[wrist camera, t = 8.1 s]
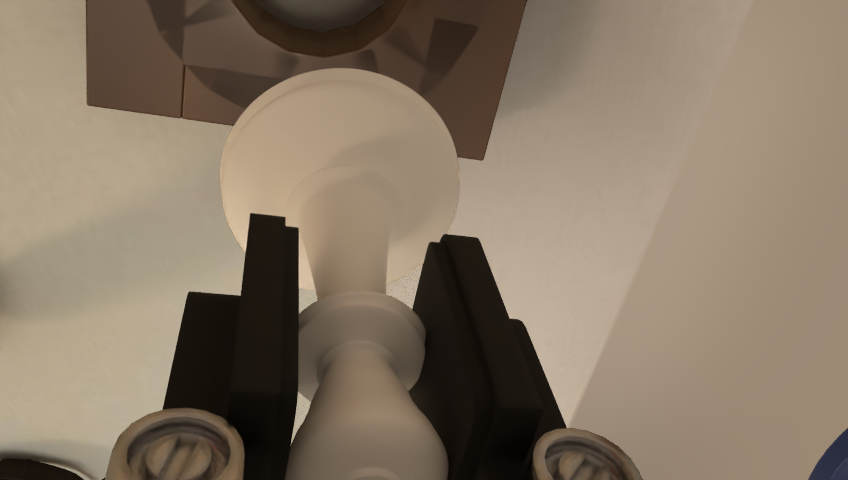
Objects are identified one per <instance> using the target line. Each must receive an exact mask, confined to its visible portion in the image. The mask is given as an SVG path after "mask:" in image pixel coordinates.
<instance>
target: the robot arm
mask: <svg viewBox="0 0 848 480" xmlns="http://www.w3.org/2000/svg"><path fill="white" fill-rule="evenodd" d="M412 310H413V311H414V312H415V313H416V314H417V316H418V317H419V318H420V320H421V322H422V323H423V325H424V328H425V330H426V339H425V344H424V345H425V351H426V352H425V357H424V362H423V366H422V370H421V373H420V376H419V379H418V380H417V382H416V383H415V384H414V386H413V387H412V388H411V389H410V390H409V391H408V392H409V394H410V396H411V399H412V400H413V402H414V403H415V405H416V406H417V407H418V409H419V410H420V411H421V412H422V413H423V414H424V415H425V416H426V417H427V419H428V420H429V421H430V423H431V424H432V426H433V427H434V429H435V430H436V432H437V434H438V435H439V437H440V439H441V441H442V443H443V445H444V447H445V450H446V453H447V456H448V462H449V473H448V478H447V480H643V479H642V477H641V475H640V472H639V471H638V469H637V468H636V466H635V464H634V463H633V461H632V460H631V458H630V457H629V456H627V455H626V453H624V452H623V451H622V450H621V449H620V448H619V447H618V446H617V445H615V444H613V443H612V442H610V441H609V440H607V439H606V438H604V437H602V436H599V435H597V434H594V433H592V432H589V431H586V430H580V429H575V428H567V427H566V425H565V423H564V420H563V418H562V415H561V413H560V410H559V408H558V405H557V403H556V400H555V398H554V395H553V393H552V391H551V388H550V386H549V383H548V381H547V378H546V376H545V373H544V371H543V368H542V366H541V364H540V361H539V359H538V356H537V354H536V351H535V349H534V346H533V344H532V341H531V339H530V336H529V334H528V332H527V329H526V327H525V325H524V324H523V322H522V321H520V320H518V319H509V316H508V313H507V311H506V308H505V306H504V303H503V300H502V298H501V295H500V293H499V290H498V287H497V285H496V282H495V279H494V277H493V274H492V272H491V269H490V266H489V264H488V261H487V259H486V256H485V253H484V251H483V248H482V246H481V243H480V241H479V239H478V238H476V237H466V236H457V235H448V234H444V235H443V236H442V237H441V239H440V242H430V243H429V245H428V247H427V251H426V255H425V259H424V263H423V267H422V272H421V276H420V280H419V284H418V288H417V292H416V296H415V301H414V305H413V309H412ZM298 354H299V228H298V227H290V226H286V217H283V216H273V215H264V214H255V213H250V219H249V228H248V237H247V246H246V254H245V263H244V272H243V281H242V290H241V296H236V295H225V294H213V293H201V292H189V293H188V295H187V299H186V304H185V308H184V313H183V318H182V322H181V327H180V332H179V336H178V341H177V345H176V350H175V355H174V359H173V364H172V369H171V373H170V378H169V383H168V387H167V392H166V396H165V401H164V406H163V410H161V411H158V412H154V413H151V414H148V415H146V416H144V417H142V418H141V419H139V420H137V421H135V422H133V423H132V424H131V425H130V426H129V427H128V428H127V429H126V430H125V431H124V432H123V433H122V434H121V435H120V436H119V437H118V439H117V442H116V444H115V446H114V448H113V450H112V453H111V457H110V461H109V465H108V469H107V473H106V477H105V478H104V479H102V480H285V476H286V470H287V464H288V458H289V451H290V445H291V439H292V433H293V427H294V420H295V414H296V406H297V395H298Z"/></svg>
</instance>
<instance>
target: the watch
mask: <svg viewBox="0 0 848 480" xmlns="http://www.w3.org/2000/svg"><path fill="white" fill-rule="evenodd" d="M0 480H84V479H82V478H81V477H80V476H78V475H77V474H75V473H73V472H70V471H68V470H66V469H62V468H59V467H56V466H53V465H49V464H45V463H41V462H35V461H32V460H30V459H28V460H19V459H4V460H1V461H0Z"/></svg>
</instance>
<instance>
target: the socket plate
mask: <svg viewBox="0 0 848 480" xmlns="http://www.w3.org/2000/svg"><path fill="white" fill-rule="evenodd" d="M526 2H527V0H385V1H384V3H383V4H382V6H381V7H379V8H378V9H377V10H375V11H374V12H372V13H371V14H369V15H368V16H367V17H365V18H364V19H362V20H361V21H360V22H358V23H357V24H355V25H353V26H348V27H344V28H339V29H335V30H330V31H326V32H320V31H314V30H308V29H302V28H296V27H291V26H289V25H287V24H286V23H284V22H282V21H281V20H279V19H277V18H276V17H274V16H272V15H271V14H269V13H267V12H266V11H264V10H262V9H261V7H260V6H259V5H258V4H257V2H256V1H255V0H86V62H87V105H89V106H95V107H102V108H110V109H117V110H124V111H131V112H138V113H145V114H152V115H160V116H167V117H174V118H181V117H182V118H183V119H189V120H196V121H203V122H210V123H217V124H224V125H232V126H234V125H235V123H236V122H237V120H238V119H239V117H240V116H241V115H242V113H243V112H244V111H245V110H246V109H247V108H248V106H249V105H250V104H251V103H252V102H253V101H255V100H256V99H257V98H258V97H259V96H260V95H262V94H263V93H264V92H266V91H267V90H269V89H270V88H272V87H273V86H275V85H277V84H279V83H281V82H282V81H285V80H287V79H289V78H291V77H294V76H297V75H300V74H303V73H307V72H311V71H315V70H321V69H330V68H351V69H360V70H366V71H370V72H374V73H378V74H381V75H384V76H387V77H389V78H392V79H394V80H396V81H398V82H400V83H402V84H404V85H406V86H407V87H409V88H410V89H412V90H413V91H415V92H416V93H417V94H419V95H420V96H421V97H422V98H424V99H425V100H426V101H427V102H428V103H429V104H430V105H431V106H432V107H433V108H434V110H435V111H436V112H437V113H438V115H439V116H440V117H441V119H442V120H443V122H444V124H445V125H446V127H447V129H448V131H449V133H450V135H451V137H452V140H453V143H454V146H455V149H456V154H457V157H460V158H467V159H475V160H483V159H484V156H485V152H486V149H487V145H488V141H489V138H490V134H491V130H492V127H493V123H494V119H495V116H496V112H497V108H498V105H499V101H500V97H501V94H502V90H503V86H504V83H505V79H506V75H507V72H508V68H509V64H510V61H511V57H512V53H513V50H514V46H515V42H516V39H517V35H518V31H519V28H520V24H521V20H522V17H523V13H524V9H525V6H526Z"/></svg>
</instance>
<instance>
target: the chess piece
mask: <svg viewBox="0 0 848 480" xmlns="http://www.w3.org/2000/svg"><path fill="white" fill-rule="evenodd" d="M220 184H221V192H222V202H223V207H224V212H225V215H226V218H227V221H228V224H229V226H230V229H231V231H232V233H233V235H234V236H235V238H236V240H237V241H238V243H239V244H240V246H241V247H242V248H243V250H244V251H245V252H246V246H247V237H248V228H249V219H250V213H255V214H264V215H273V216H283V217H286V226H290V227H298V228H299V287H300V288H304V289H308V290H312V291H316V295H317V299H318V301H316V302H314V303H313V304H311V305H310V306H308V307H307V308H306V309H304V310H303V311H302V312H301V313H300V314H299V354H298V391H299V392H300V393H301V394H302V395H303V396H304V397H305V398H307V399H308V400H310V401H311V405H310V409H309V412H308V414H307V416H306V418H305V420H304V422H303V424H302V425H301V426H300V428H299V429H298V431H297V433H296V435H295V437H294V440H293V442H292V444H291V446H290V451H289V458H288V464H287V470H286V476H285V480H447V478H448V473H449V462H448V456H447V453H446V450H445V447H444V445H443V443H442V441H441V439H440V437H439V435H438V434H437V432H436V430H435V429H434V427H433V426H432V424H431V423H430V421H429V420H428V419H427V417H426V416H425V415H424V414H423V413H422V412H421V411H420V410H419V409H418V407H417V406H416V405H415V403H414V402H413V400H412V399H411V396H410V394H409V392H408V391H409V390H410V389H411V388H412V387H413V386H414V384H415V383H416V382H417V380H418V379H419V376H420V373H421V370H422V366H423V362H424V357H425V352H426V351H425V345H424V344H425V339H426V330H425V328H424V325H423V323H422V322H421V320H420V318H419V317H418V316H417V314H416V313H415V312H414V311H413V310H412V309H411V308H410V307H408V306H407V305H406V304H404V303H403V302H401V301H399V300H397V299H395V298H393V297H391V296H388V295H386V285H387V284H389V283H392V282H394V281H396V280H398V279H400V278H402V277H404V276H405V275H407V274H409V273H410V272H412V271H413V270H415V269H416V268H417V267H419V266H420V265H421V264H422V263H423V262H424V259H425V255H426V251H427V247H428V245H429V243H430V242H440V239H441V237H442V236H443V235H444V234H447V232H448V231H449V229H450V226H451V224H452V222H453V219H454V216H455V213H456V209H457V205H458V199H459V168H458V159H457V154H456V149H455V146H454V143H453V140H452V137H451V135H450V133H449V131H448V129H447V127H446V125H445V124H444V122H443V120H442V119H441V117H440V116H439V115H438V113H437V112H436V111H435V110H434V108H433V107H432V106H431V105H430V104H429V103H428V102H427V101H426V100H425V99H424V98H422V97H421V96H420V95H419V94H417V93H416V92H415V91H413V90H412V89H410V88H409V87H407V86H406V85H404V84H402V83H400V82H398V81H396V80H394V79H392V78H389V77H387V76H384V75H381V74H378V73H374V72H370V71H366V70H360V69H351V68H330V69H321V70H315V71H311V72H307V73H303V74H300V75H297V76H294V77H291V78H289V79H287V80H285V81H282V82H281V83H279V84H277V85H275V86H273V87H272V88H270V89H269V90H267V91H266V92H264V93H263V94H262V95H260V96H259V97H258V98H257V99H256V100H255V101H253V102H252V103H251V104H250V105H249V106H248V108H247V109H246V110H245V111H244V112H243V113H242V115H241V116H240V117H239V119H238V120H237V122H236V123H235V125H234V127H233V128H232V130H231V132H230V134H229V136H228V139H227V141H226V144H225V147H224V151H223V155H222V160H221V168H220Z"/></svg>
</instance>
